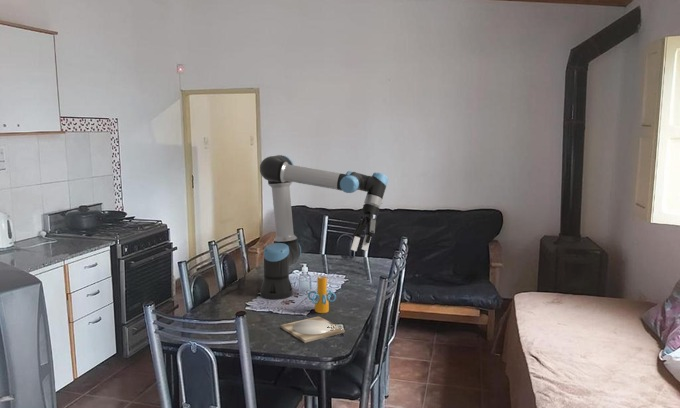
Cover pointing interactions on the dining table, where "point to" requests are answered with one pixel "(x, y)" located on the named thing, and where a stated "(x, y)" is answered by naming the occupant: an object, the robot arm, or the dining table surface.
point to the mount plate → (311, 329)
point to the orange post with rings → (321, 295)
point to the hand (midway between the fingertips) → (358, 250)
